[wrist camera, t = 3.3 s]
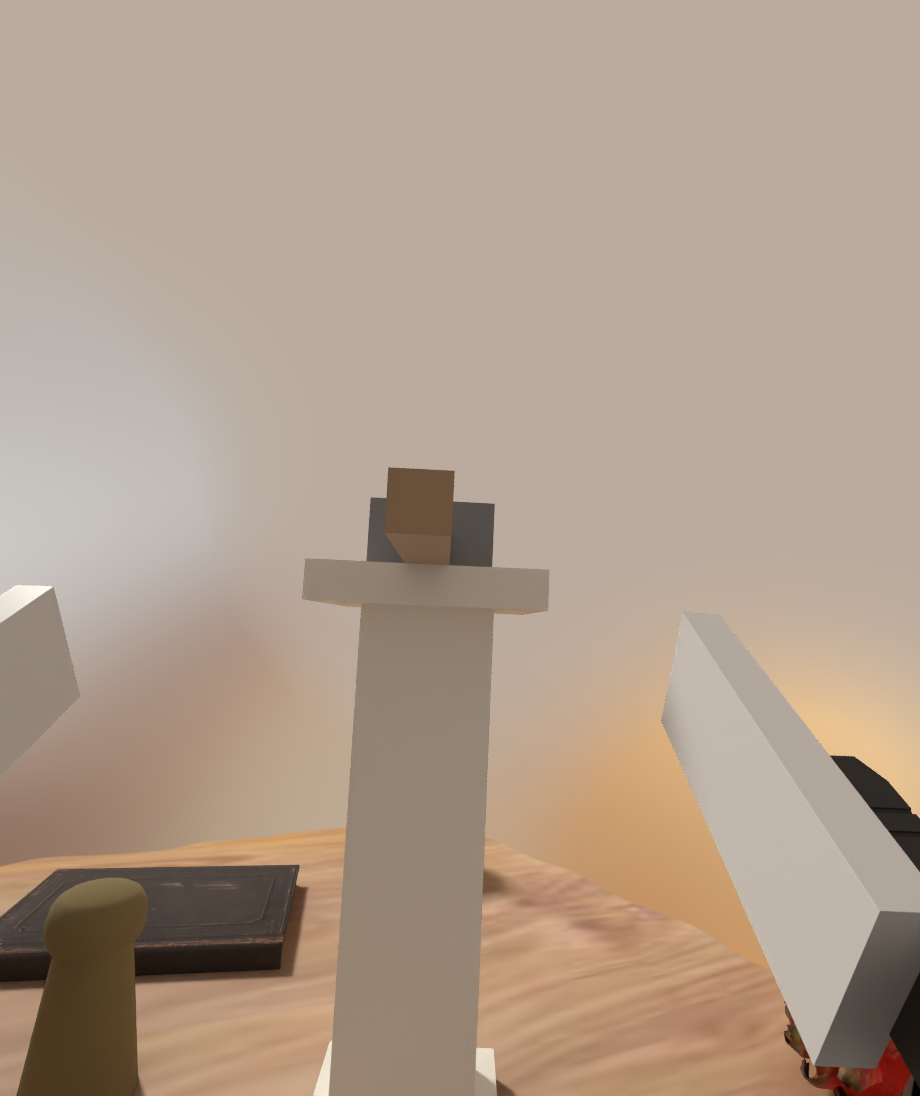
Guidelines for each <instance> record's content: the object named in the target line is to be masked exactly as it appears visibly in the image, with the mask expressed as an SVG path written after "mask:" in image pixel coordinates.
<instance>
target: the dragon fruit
mask: <svg viewBox="0 0 920 1096" xmlns="http://www.w3.org/2000/svg"><path fill="white" fill-rule="evenodd" d="M784 1003H785V1004H786V1002H785V1001H784ZM785 1013H786V1015H787V1017H788V1018H789V1021H790V1025H787V1026H788V1027H789V1028H788V1029H789V1030H788V1031H784V1036H785V1040H786V1042H787V1044H788V1045H790V1046H791V1047H792V1048H793V1049H794V1050H795V1051H796V1052H797V1053H798V1054H799V1055H800V1056H801V1057H803V1058H809V1059H810V1056H809V1054H808V1052H807V1050H806V1047H805V1045H804V1043H803V1041H802V1038H801V1036H800V1034H799V1032H798V1029H797V1027H796V1025H795V1023H794V1020H793V1018H792V1016H791V1013H790V1011H789V1009H788V1007H787V1004H786V1006H785ZM800 1068H801V1071H802V1074H803V1076H804V1078H806V1079H807V1080H808V1081H809V1082H810V1083H811V1084H812V1085H813V1086H815V1087H817V1088H823V1089H829V1090H833V1092H834V1094H835V1096H901V1094H902V1092H903V1090H904V1088H905V1086H906V1084H907V1082H908V1081H909V1079H910V1077H911V1075H912V1074H911V1073H910V1071H909V1069H908V1067H907V1065H906V1064H905V1062H904V1060H903V1058H902V1057H901V1055H900V1053H899V1051H898V1049H897V1048H896V1046H895V1044H894V1042H893V1041H892V1039H890V1041H889V1043H888V1045H887V1047H886V1049H885V1051H884V1053H883V1055H882V1057H881V1059H880V1061H879V1063H878V1065H877V1067H876V1069H870V1068H848V1067H827V1066H816V1070H817V1073H816V1075H815V1077H813V1078H809V1062H808V1063H806V1060H805V1059H804V1060H803V1061H802V1065H801V1067H800Z"/></svg>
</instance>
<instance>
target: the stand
mask: <svg viewBox="0 0 920 1096" xmlns="http://www.w3.org/2000/svg"><path fill="white" fill-rule="evenodd" d="M304 570H305V571H304V582H303V595H302V599H304V600H310V601H317V602H323V603H329V604H335V605H342V606H349V607H361V618H360V634H359V648H358V649H359V650H358V665H357V678H356V679H357V680H356V693H355V709H354V724H353V739H352V753H351V768H350V783H349V797H348V812H347V827H346V842H345V857H344V872H343V887H342V902H341V917H340V932H339V947H338V962H337V977H336V992H335V1007H334V1022H333V1036H332V1041H330V1043H329V1046H328V1049H327V1052H326V1056H325V1059H324V1062H323V1065H322V1069H321V1072H320V1075H319V1078H318V1081H317V1085H316V1088H315V1091H314V1094H313V1096H497V1089H496V1077H495V1064H494V1052H493V1049H488V1048H476V1046H477V1021H478V996H479V971H480V946H481V920H482V895H483V870H484V845H485V820H486V793H487V769H488V744H489V718H490V692H491V668H492V644H493V619H494V613H497V614H518V615H524V614H530V613H537V612H543V611H548V595H549V570H539V569H519V568H497V567H477V566H456V565H434V564H413V563H392V562H370V561H349V560H328V559H305V569H304Z"/></svg>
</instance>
